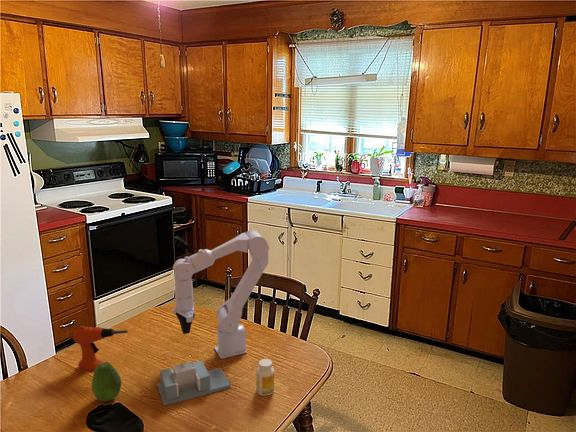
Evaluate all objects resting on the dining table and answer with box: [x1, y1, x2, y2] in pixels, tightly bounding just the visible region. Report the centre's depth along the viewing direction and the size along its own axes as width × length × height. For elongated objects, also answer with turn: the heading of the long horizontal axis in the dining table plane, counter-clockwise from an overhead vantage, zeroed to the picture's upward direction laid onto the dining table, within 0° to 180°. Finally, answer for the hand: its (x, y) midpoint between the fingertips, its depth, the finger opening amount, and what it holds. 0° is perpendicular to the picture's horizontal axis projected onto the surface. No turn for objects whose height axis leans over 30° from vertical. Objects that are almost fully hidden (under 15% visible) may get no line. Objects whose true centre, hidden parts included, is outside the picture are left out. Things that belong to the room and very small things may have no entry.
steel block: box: [172, 361, 197, 392], centre depth 131 cm, size 6×4×6 cm, turn 116°
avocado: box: [91, 361, 122, 402], centre depth 126 cm, size 8×8×12 cm
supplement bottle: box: [255, 358, 275, 396], centre depth 131 cm, size 5×5×10 cm
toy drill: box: [72, 325, 128, 372], centre depth 141 cm, size 5×19×15 cm, turn 85°
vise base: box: [157, 367, 232, 407], centre depth 132 cm, size 20×10×6 cm, turn 116°
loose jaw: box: [193, 360, 210, 391], centre depth 133 cm, size 3×9×4 cm, turn 26°
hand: (186, 332), depth 147 cm, fingers closed
